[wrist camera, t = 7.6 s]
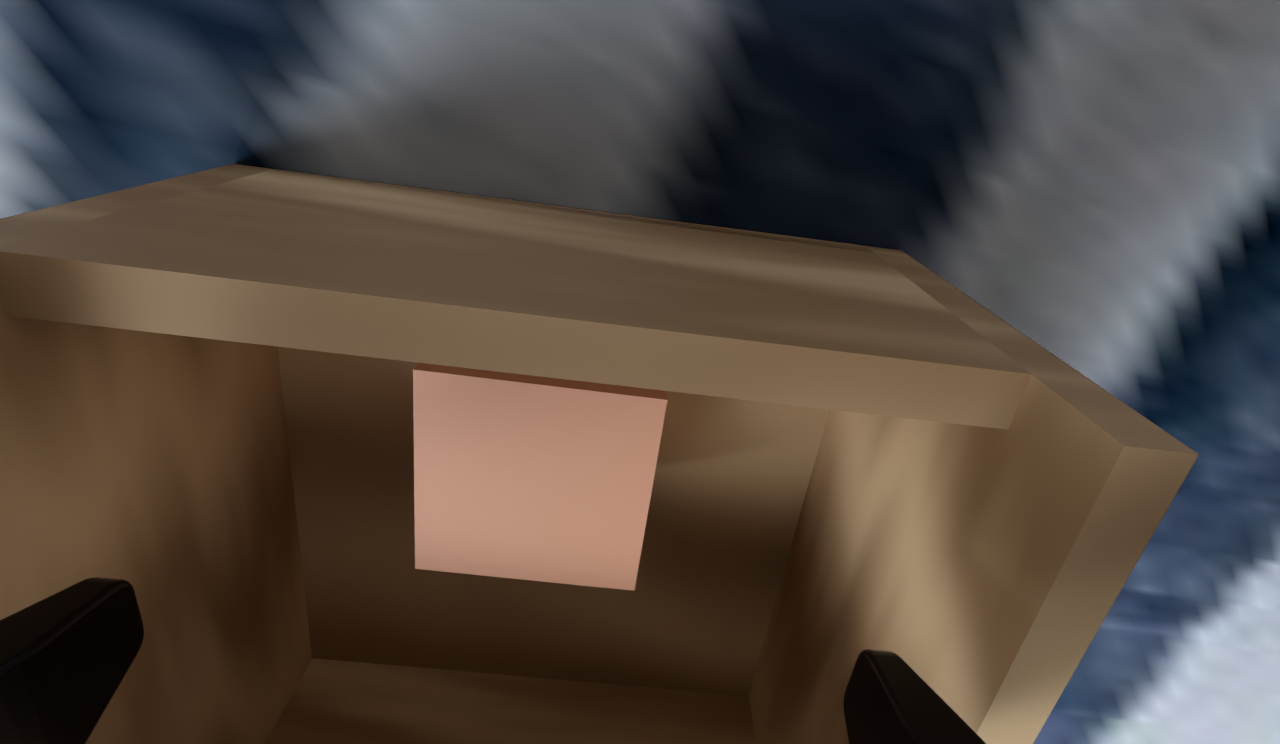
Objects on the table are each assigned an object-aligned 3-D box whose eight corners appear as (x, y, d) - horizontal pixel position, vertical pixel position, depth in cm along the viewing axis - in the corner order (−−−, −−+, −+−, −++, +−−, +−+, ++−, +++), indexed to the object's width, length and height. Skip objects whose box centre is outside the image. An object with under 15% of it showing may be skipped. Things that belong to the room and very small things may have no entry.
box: (765, 699, 20) (842, 1074, 12) (295, 658, 19) (78, 1035, 12) (901, 250, 14) (1198, 453, 7) (232, 163, 13) (-284, 286, 6)
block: (634, 469, 16) (634, 590, 12) (466, 451, 15) (415, 568, 12) (659, 314, 14) (667, 399, 10) (471, 289, 14) (413, 369, 10)
